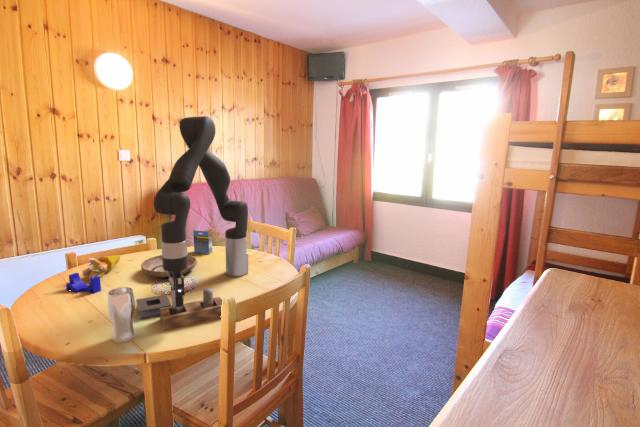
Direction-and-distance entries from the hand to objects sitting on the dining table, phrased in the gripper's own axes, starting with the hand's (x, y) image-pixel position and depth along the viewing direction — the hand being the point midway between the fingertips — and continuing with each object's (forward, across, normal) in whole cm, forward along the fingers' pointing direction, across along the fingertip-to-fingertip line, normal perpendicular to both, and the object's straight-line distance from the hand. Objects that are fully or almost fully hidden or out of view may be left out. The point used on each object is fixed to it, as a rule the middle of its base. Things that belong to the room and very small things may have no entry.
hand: (177, 301), depth 119 cm
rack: (+7, 0, -5) cm, 9 cm away
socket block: (+7, +12, +6) cm, 15 cm away
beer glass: (+7, -3, +16) cm, 18 cm away
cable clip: (+8, +42, +28) cm, 51 cm away
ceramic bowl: (+8, +49, -5) cm, 50 cm away
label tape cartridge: (+7, +71, -25) cm, 76 cm away
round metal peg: (+7, 0, 0) cm, 7 cm away
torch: (+8, +60, +20) cm, 64 cm away
